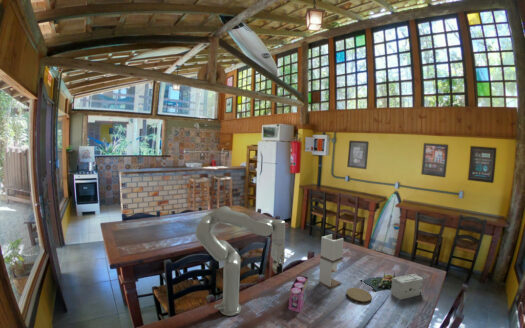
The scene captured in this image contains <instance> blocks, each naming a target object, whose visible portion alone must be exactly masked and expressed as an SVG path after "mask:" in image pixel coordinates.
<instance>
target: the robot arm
mask: <svg viewBox="0 0 525 328" xmlns="http://www.w3.org/2000/svg"><path fill="white" fill-rule="evenodd" d="M220 223H221V224H223V225H228V226H232V227H236V228H239V229H243V230H244V231H246V232H249V233H251V234H253V235H258V236H263V237H269V236H270V235H271V248H270V257H271V258H272V263H274V262H277V263H278V266H277V273H276V274H279V273H280V274H281V273H283V272H282V266H284V265H285V259H286V258H285V255H286V254H285V253H286V252H285V243H286V222H285V220H283V219H273V218H272V219H270V218H263V219H261V220H260V221H258V220H255V219H253V218H251V217H250V216H249V215H247V214H246V213H243V212H240V211H235V210H232V209H231V208H230V207H229V206H227V205H224V206H220V207H218V208H217V209H214V210H213V211H211V212H209V213H206V214H205V215H204V216H203V217H202V218H201V220H200V221H199V222H198V223H197V224H198V225H197V226H196V229H195V237H196V239H197V241H198V243H199V244H200V245H202V246H203V247H204V249H205V250H206V251H207V252H208V253H209V255H210V256H211V257H212V258H213V259H214V260H215V261H217V262H224V264H223V270H222V271H223V280H222V283H223V285H222V287H223V289H222V300H221V302H220V303H218V304H214V309H217V310H218V311H220V313H221V314H222V315H225V316H230V317H231V316H235V315H238V314H239V313H240V312H241V311H242V306H241V304H240V303H239V302H240V274H241V273H240V272H241V256H240V254H239V253H238V251H236V249H234V247H233V246H232V245H231V244H230V243H229V242H228V241H227V240H225V239H224V240H223V239H217V237H216V236H215V235H213V233H212V231H213V229H214V227H215V226H216V225H218V224H220ZM279 262H281V263H280V264H279Z"/></svg>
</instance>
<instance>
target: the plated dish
mask: <svg viewBox="0 0 525 328" xmlns="http://www.w3.org/2000/svg"><path fill="white" fill-rule="evenodd" d="M375 277H376V278H375ZM375 277H369V278H368V279H367V278H364V279H365V280H364V281H363V282H364V283H365V284H367V285H369V286H371V287H372V288H373V289H372V290H370V291H371V292H372V293H377V292H381V291H386V290H391V287H392V278H394V277H396V273H395V271H394V273H393V275H392V274H386V272H384V274H383V276H378V277H377V276H375ZM366 279H367V280H366Z"/></svg>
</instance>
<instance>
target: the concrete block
mask: <svg viewBox="0 0 525 328" xmlns="http://www.w3.org/2000/svg"><path fill="white" fill-rule="evenodd" d="M401 272H402V273H404V274H406V275H401V276H395V277H394V278H392V287H391V289H390V290H391V291H390V292H391V293H390V294H391V295H392V296H393V297H394V298H396V299H398V300H404V299H409V298H413V297H417V296H421V295H422V291H423V282H424V278H423V277H422V276H419V275H417V274H416V273H413V274H409V273H406V272H404V271H401Z"/></svg>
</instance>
